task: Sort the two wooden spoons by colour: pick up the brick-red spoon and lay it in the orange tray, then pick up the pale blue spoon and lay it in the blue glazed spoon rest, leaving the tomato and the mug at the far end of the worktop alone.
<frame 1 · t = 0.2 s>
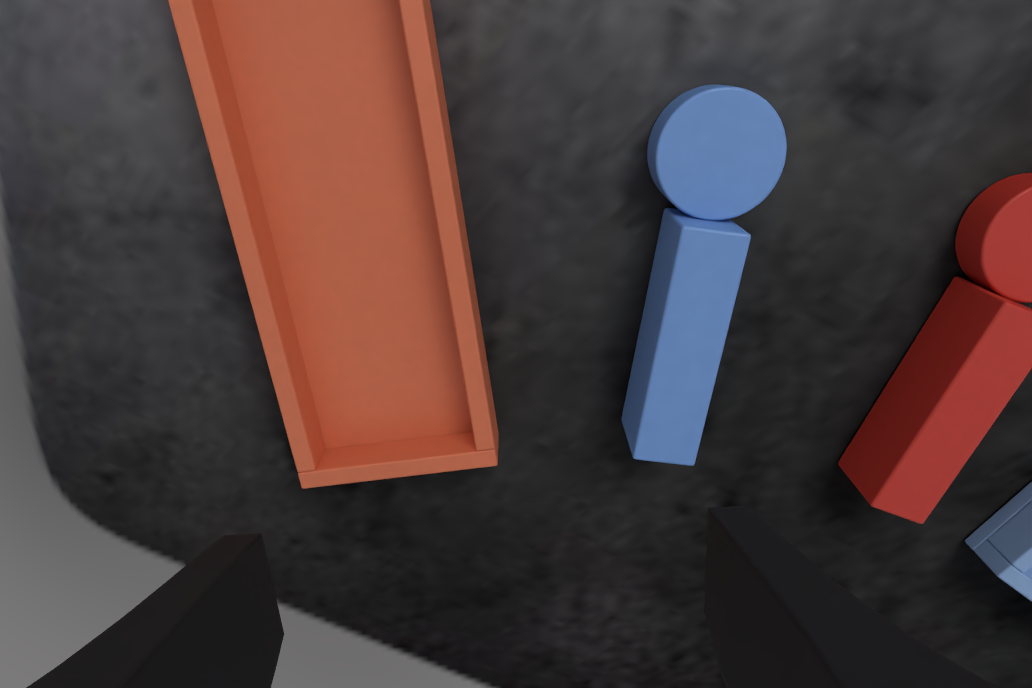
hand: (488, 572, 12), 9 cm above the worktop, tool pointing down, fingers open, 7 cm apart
red spoon: (954, 325, 20), on the worktop
blue spoon: (684, 257, 19), on the worktop
orange tray: (357, 209, 19), on the worktop
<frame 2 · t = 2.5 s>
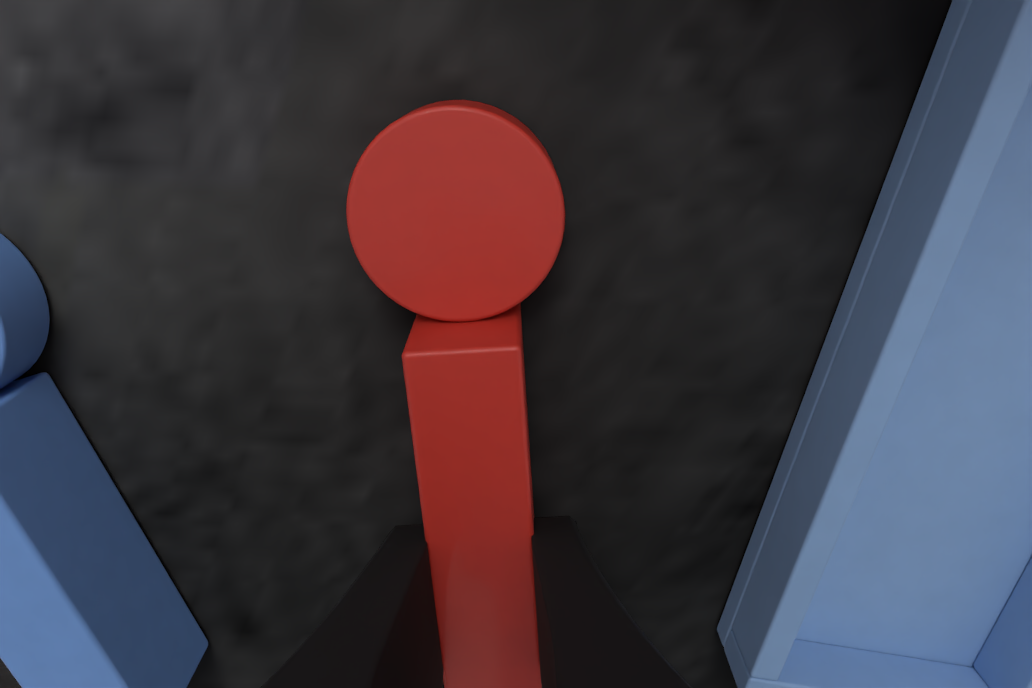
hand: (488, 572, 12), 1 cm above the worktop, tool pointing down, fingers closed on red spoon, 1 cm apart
red spoon: (475, 367, 12), on the worktop, touching gripper
blue spoon: (43, 443, 13), on the worktop
blue rest: (991, 328, 12), on the worktop
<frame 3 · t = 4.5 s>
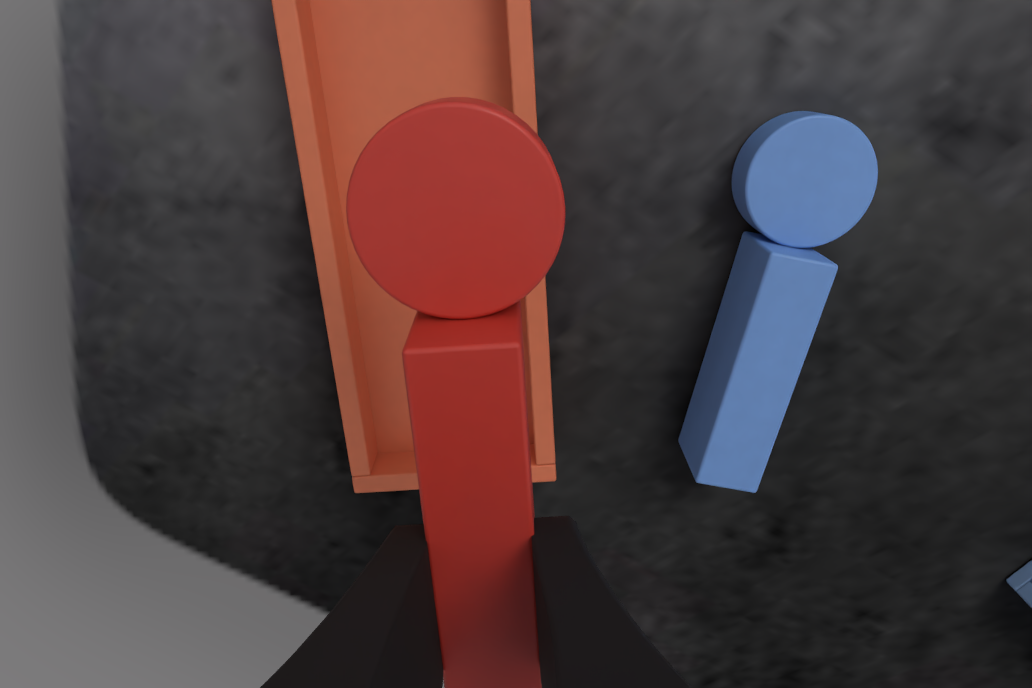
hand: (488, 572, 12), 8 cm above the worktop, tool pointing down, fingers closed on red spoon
red spoon: (475, 365, 12), point 7 cm above the worktop, touching gripper
blue spoon: (758, 281, 19), on the worktop
orange tray: (433, 212, 18), on the worktop
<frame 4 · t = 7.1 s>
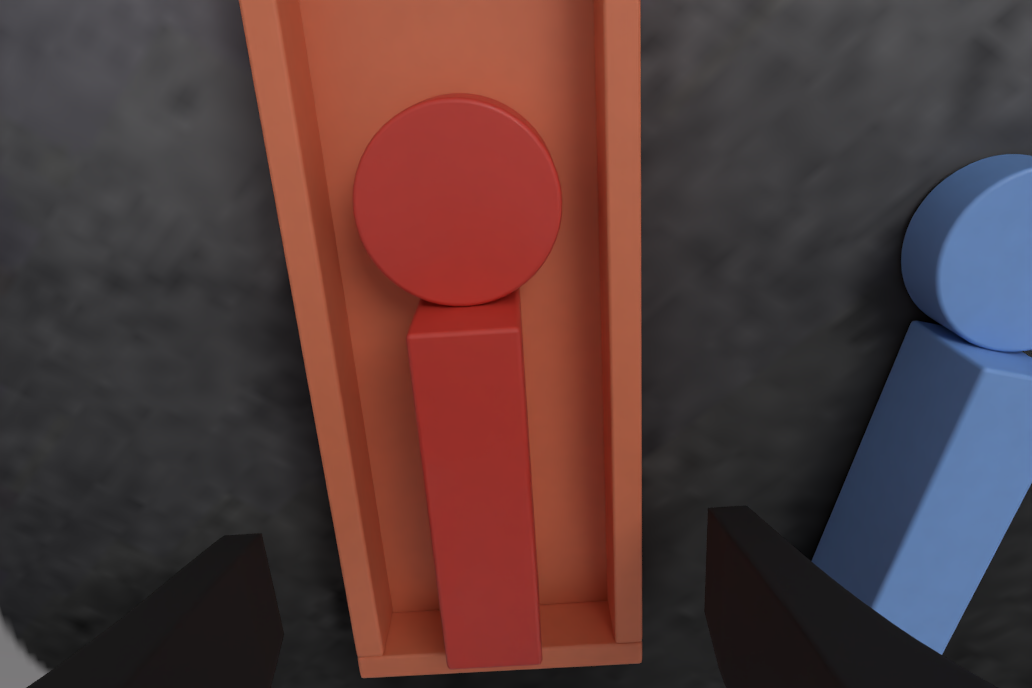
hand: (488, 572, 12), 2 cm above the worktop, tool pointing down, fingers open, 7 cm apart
red spoon: (476, 352, 13), resting on orange tray
blue spoon: (926, 387, 14), on the worktop
orange tray: (474, 293, 13), on the worktop
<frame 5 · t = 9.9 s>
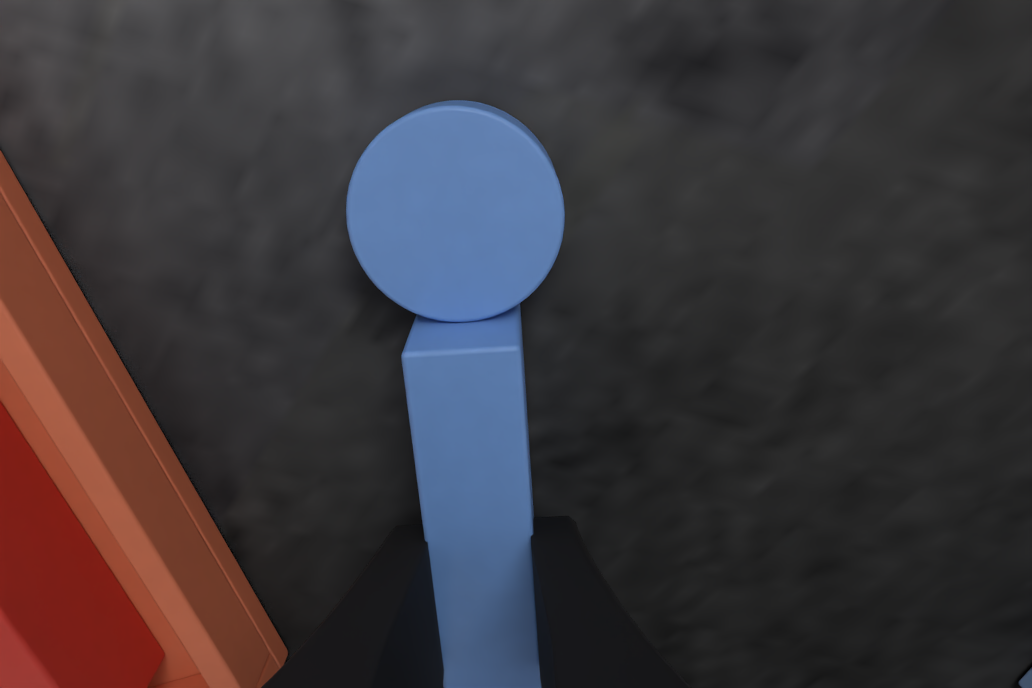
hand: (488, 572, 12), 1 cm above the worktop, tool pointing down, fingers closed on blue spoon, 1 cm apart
blue spoon: (475, 367, 12), on the worktop, touching gripper
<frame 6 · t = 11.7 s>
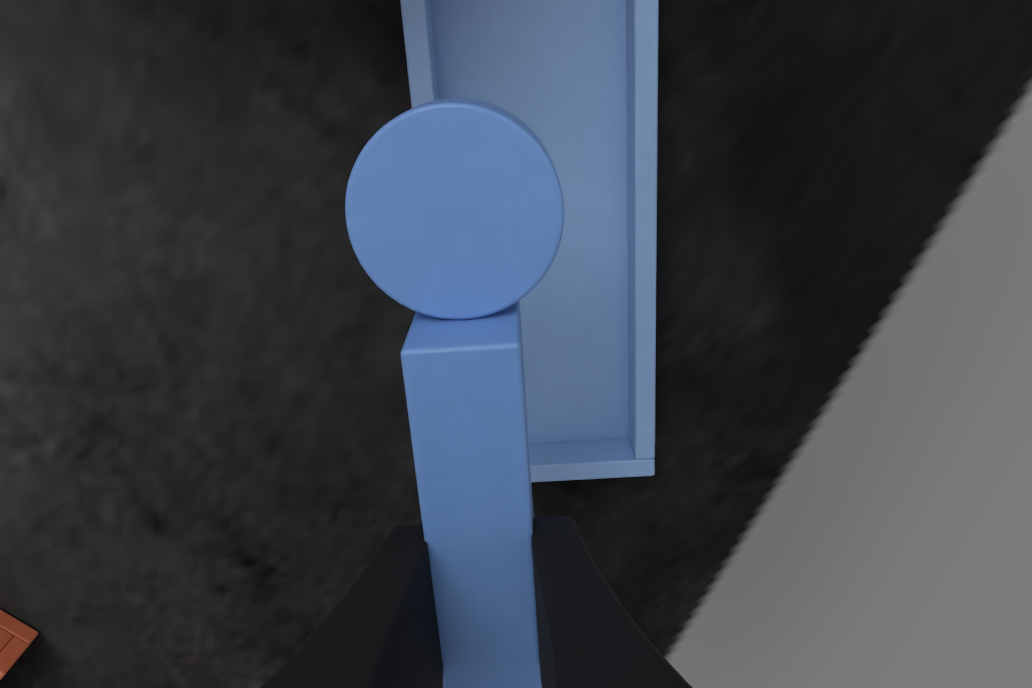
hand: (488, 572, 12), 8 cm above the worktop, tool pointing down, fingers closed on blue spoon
blue spoon: (475, 365, 12), point 7 cm above the worktop, touching gripper
blue rest: (537, 205, 18), on the worktop
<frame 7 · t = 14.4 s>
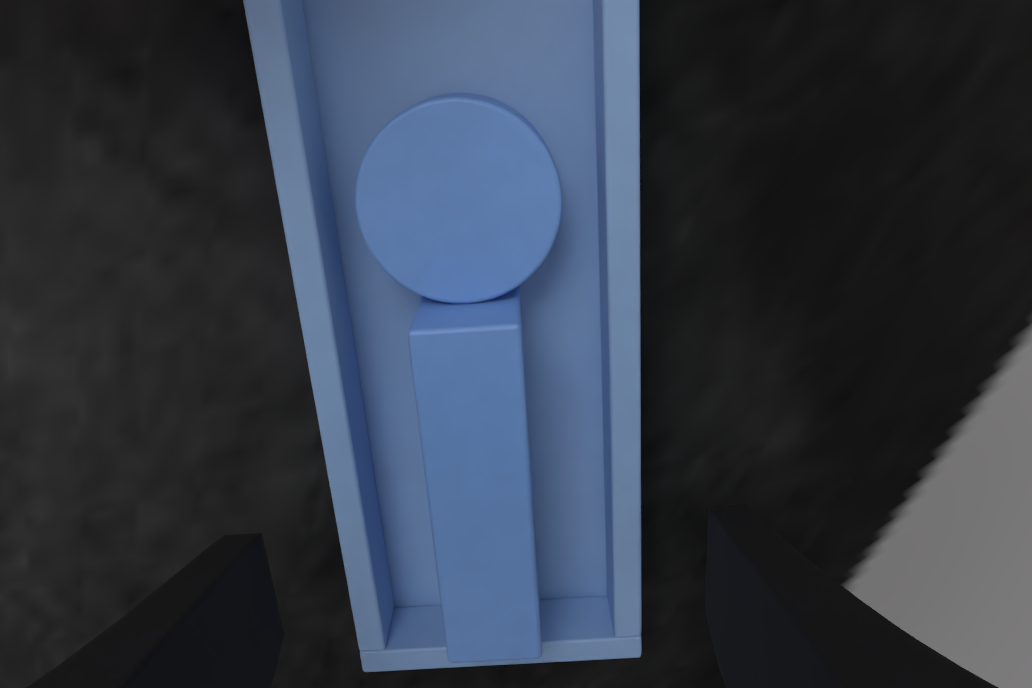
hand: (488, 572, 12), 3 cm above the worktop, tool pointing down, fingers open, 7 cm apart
blue spoon: (477, 349, 13), resting on blue rest
blue rest: (475, 291, 13), on the worktop
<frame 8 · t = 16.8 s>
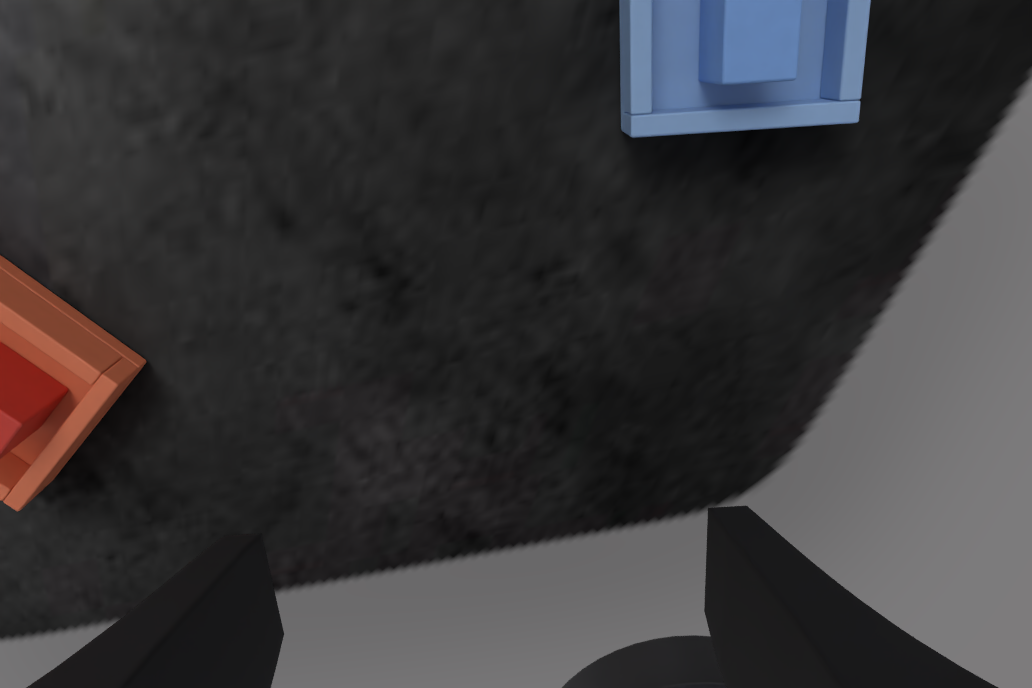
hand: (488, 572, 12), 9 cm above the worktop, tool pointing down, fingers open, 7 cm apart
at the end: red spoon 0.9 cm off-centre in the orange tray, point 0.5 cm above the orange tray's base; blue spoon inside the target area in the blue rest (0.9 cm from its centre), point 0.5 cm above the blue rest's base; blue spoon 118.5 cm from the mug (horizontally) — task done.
